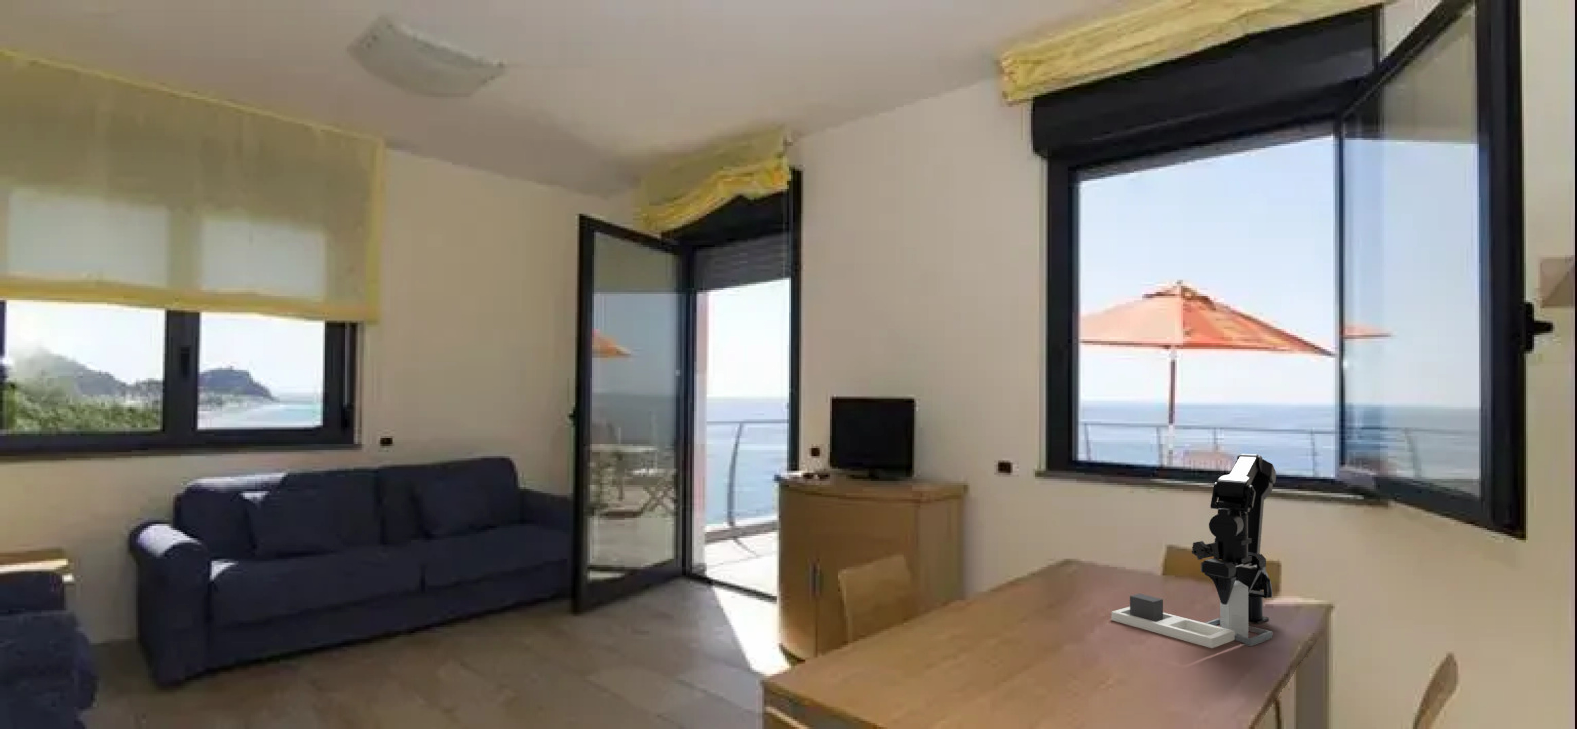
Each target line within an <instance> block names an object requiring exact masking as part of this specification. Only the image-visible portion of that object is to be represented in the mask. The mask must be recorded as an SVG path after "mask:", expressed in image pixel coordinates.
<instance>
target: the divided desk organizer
mask: <svg viewBox="0 0 1577 729" xmlns="http://www.w3.org/2000/svg"><path fill="white" fill-rule="evenodd" d="M1110 614H1111V621H1113V622H1116V623H1120V624H1124V625H1127V626H1131V627H1134V628H1137V629H1141V630H1145V631H1149V632H1151V633H1152V632H1153V633H1156V634H1160V635H1164V636H1166V637H1170V638H1173V639H1178V640H1181V641H1185V642H1188V643H1191V644H1195V645H1199V646H1203V647H1206V648H1210V649H1214V648H1217V647H1219V646H1221V645H1225V644H1227V643H1230V642H1234V641H1236V640H1235V631H1234V630H1230V629H1226V628H1222V627H1220V626H1218V625H1215V626H1214V625H1210V624H1206V622H1202V621H1199V620H1194V619H1190V618H1186V617H1182V616H1178V615H1175V614H1170V613H1167V612H1163V620H1160V621H1157V622H1154V621H1151V620H1147V619H1143V618H1139V617H1136V616H1132V615H1130V606H1126V607H1124V608H1123V607H1122V608H1119V609H1116V610H1113V611H1111V612H1110Z"/></svg>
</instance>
